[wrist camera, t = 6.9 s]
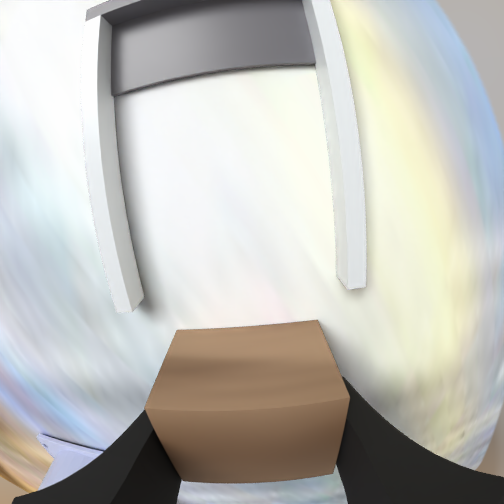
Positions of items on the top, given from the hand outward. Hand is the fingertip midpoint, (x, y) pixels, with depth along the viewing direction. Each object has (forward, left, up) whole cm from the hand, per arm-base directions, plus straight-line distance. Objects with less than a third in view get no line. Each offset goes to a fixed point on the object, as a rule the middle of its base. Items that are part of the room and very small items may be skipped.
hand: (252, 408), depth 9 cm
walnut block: (0, 0, -2) cm, 2 cm away
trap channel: (+9, 0, -2) cm, 9 cm away
